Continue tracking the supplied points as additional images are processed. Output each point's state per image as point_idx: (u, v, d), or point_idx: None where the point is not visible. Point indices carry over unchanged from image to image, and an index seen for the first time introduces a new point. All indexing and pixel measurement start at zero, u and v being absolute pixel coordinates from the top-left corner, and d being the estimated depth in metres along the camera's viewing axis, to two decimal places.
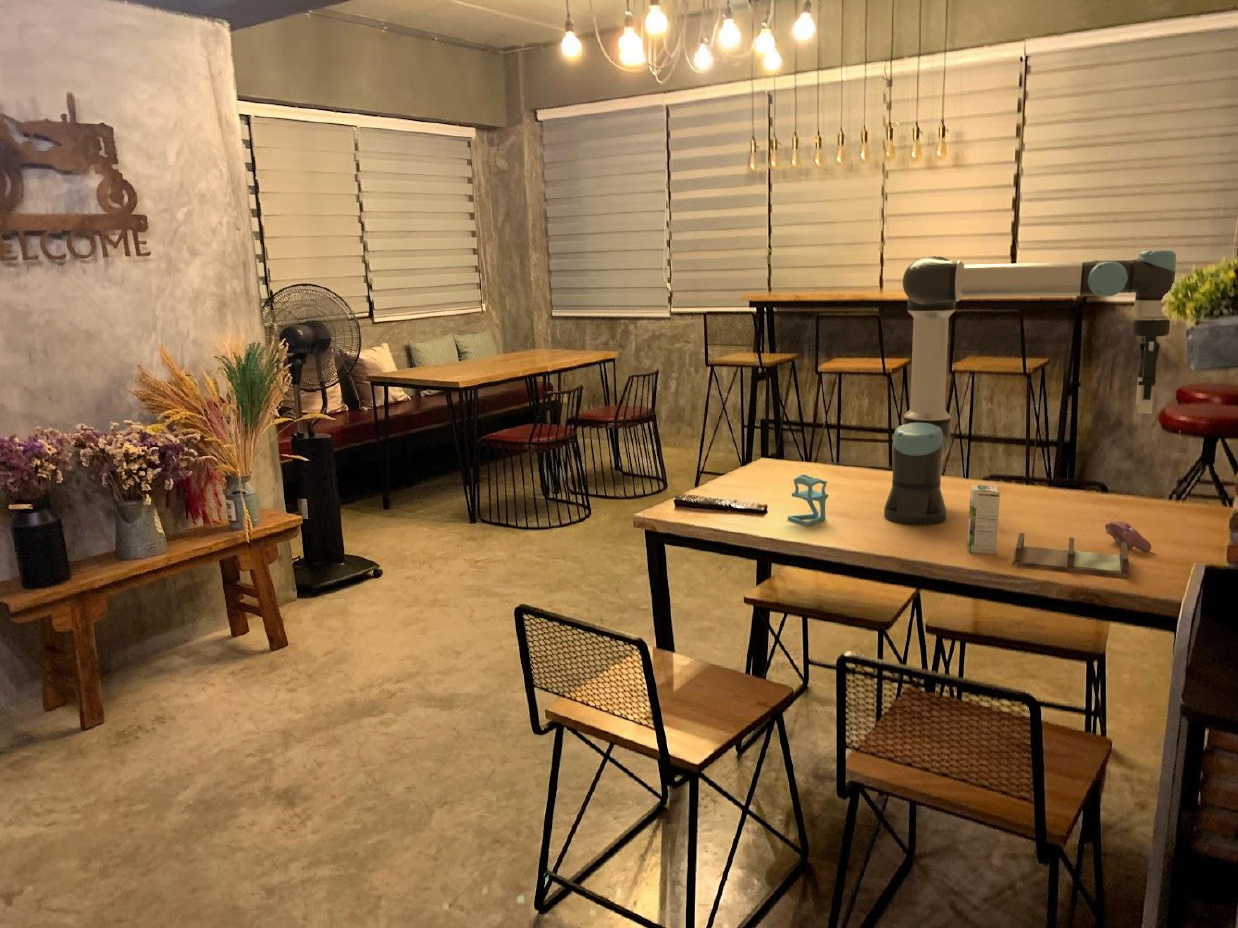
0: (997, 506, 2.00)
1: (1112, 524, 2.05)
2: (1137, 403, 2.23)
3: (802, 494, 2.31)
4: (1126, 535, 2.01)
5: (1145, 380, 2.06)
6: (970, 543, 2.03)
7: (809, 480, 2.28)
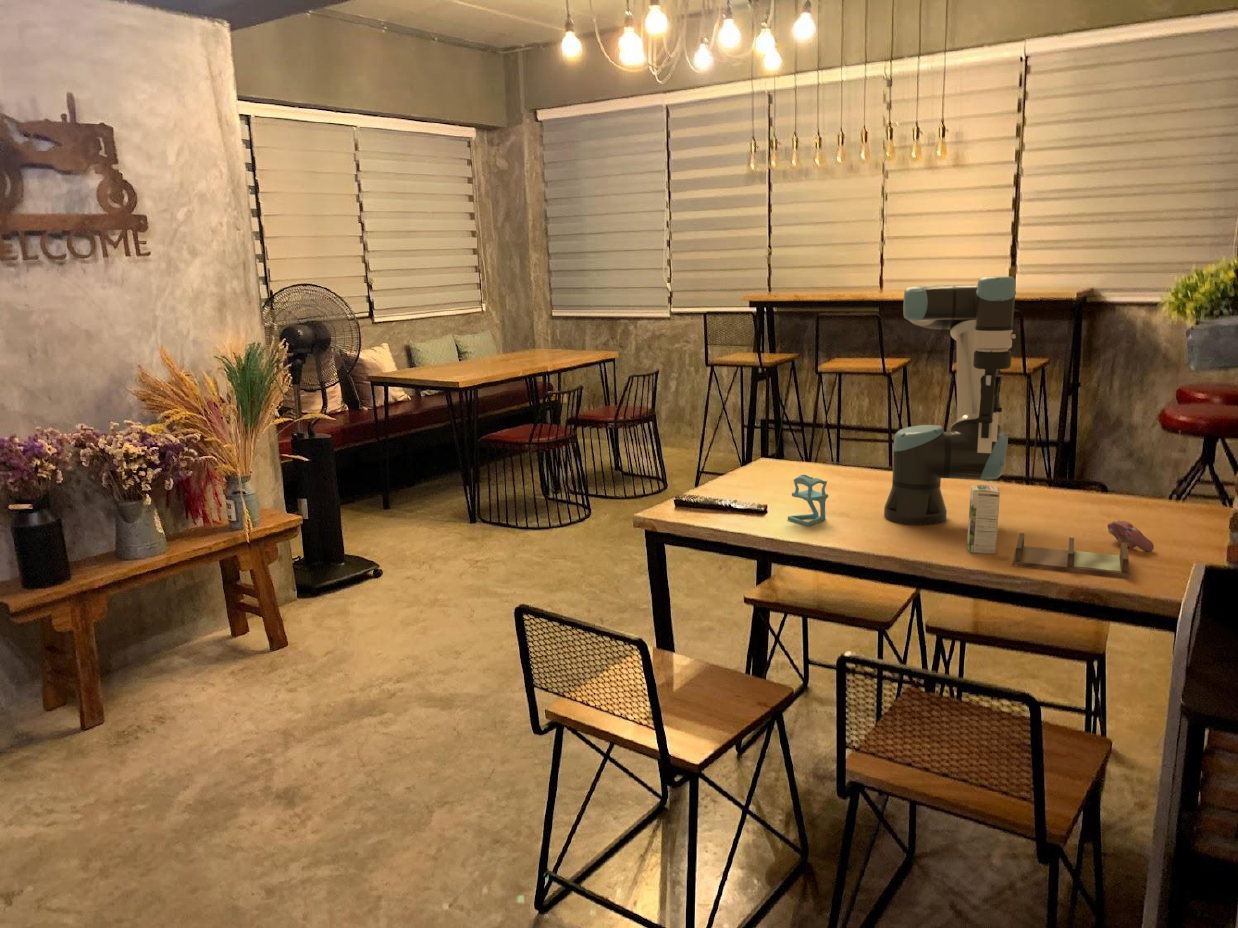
0: (997, 506, 2.00)
1: (1114, 524, 2.06)
2: None
3: (802, 494, 2.31)
4: (1129, 535, 2.01)
5: (981, 417, 1.90)
6: (970, 543, 2.03)
7: (809, 480, 2.28)
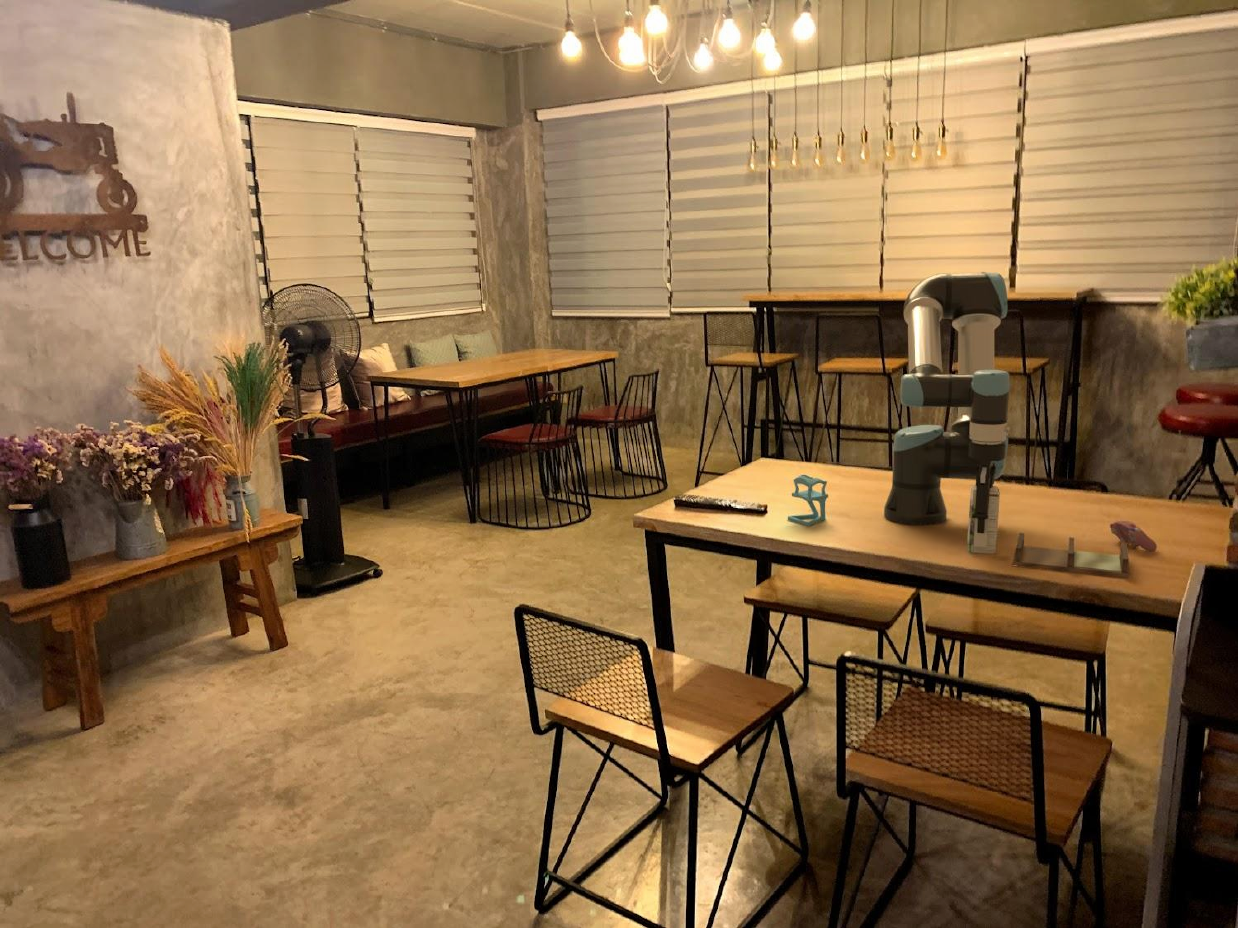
0: (997, 506, 2.00)
1: (1117, 524, 2.06)
2: None
3: (802, 494, 2.31)
4: (1131, 535, 2.01)
5: (977, 514, 1.98)
6: (970, 543, 2.03)
7: (809, 480, 2.28)
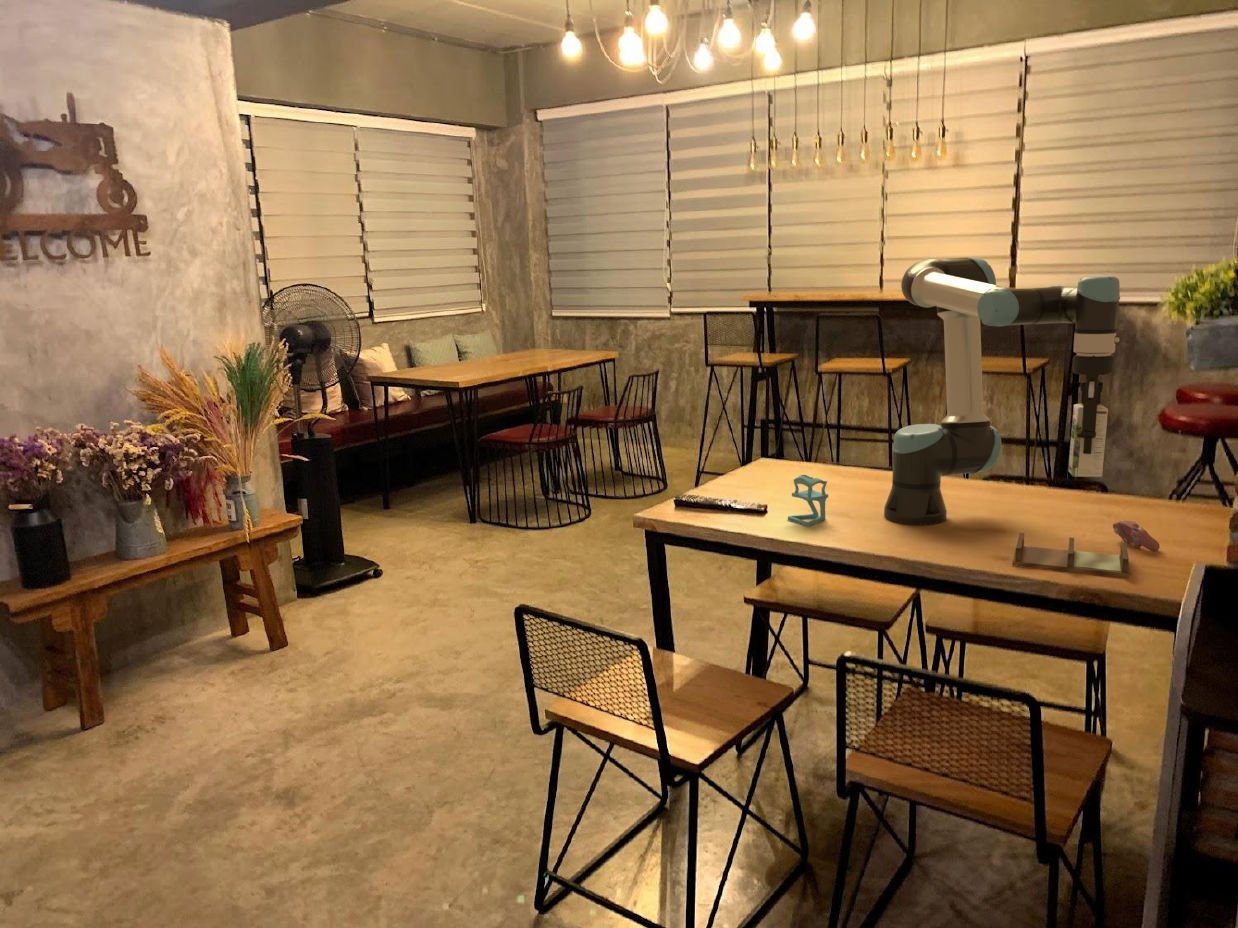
0: (1105, 424, 1.85)
1: (1120, 523, 2.06)
2: None
3: (802, 494, 2.31)
4: (1134, 534, 2.01)
5: (1084, 432, 1.83)
6: (1074, 466, 1.88)
7: (809, 480, 2.28)
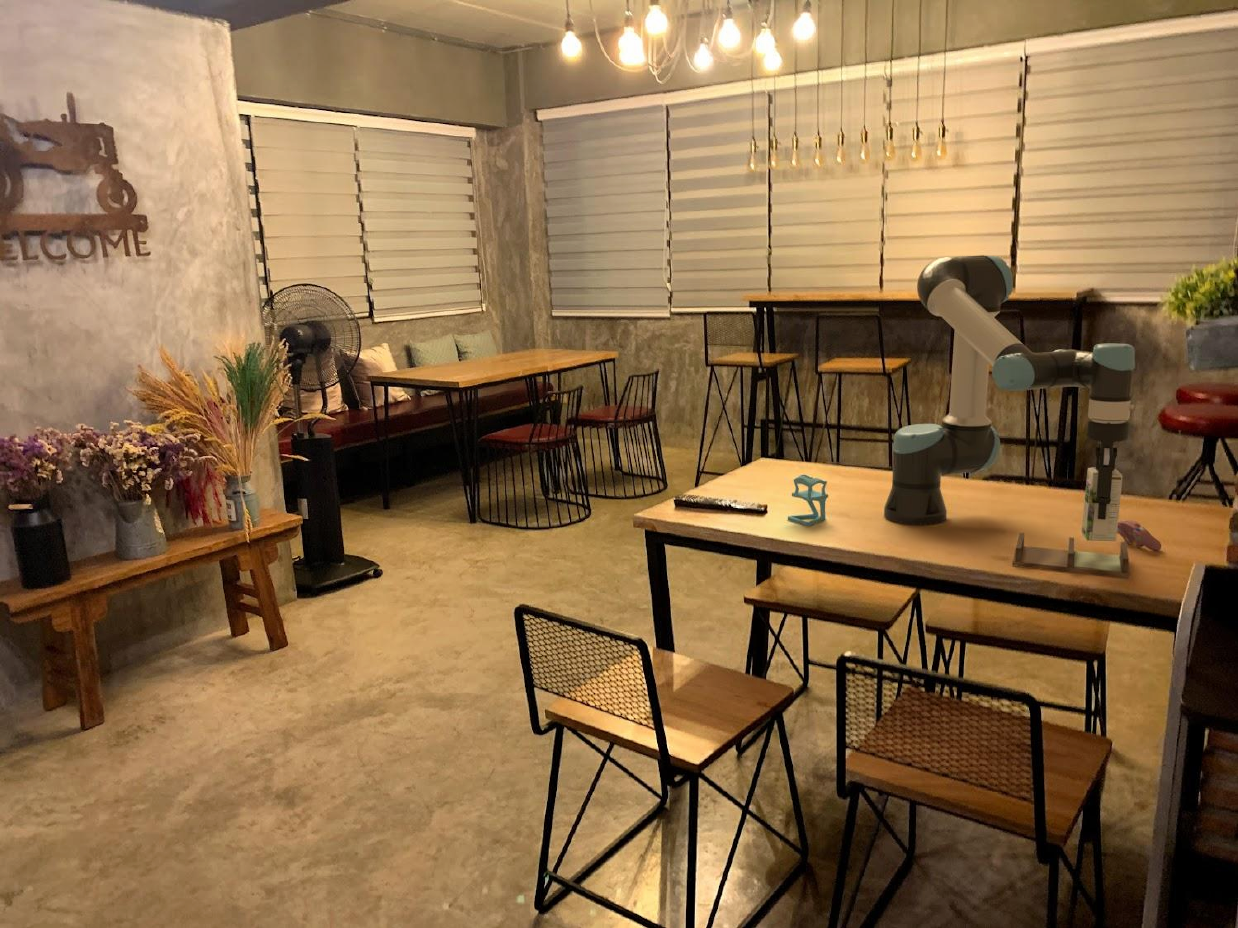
0: (1119, 490, 1.86)
1: (1122, 523, 2.06)
2: None
3: (802, 494, 2.31)
4: (1136, 534, 2.01)
5: (1099, 499, 1.84)
6: (1088, 530, 1.89)
7: (809, 480, 2.28)
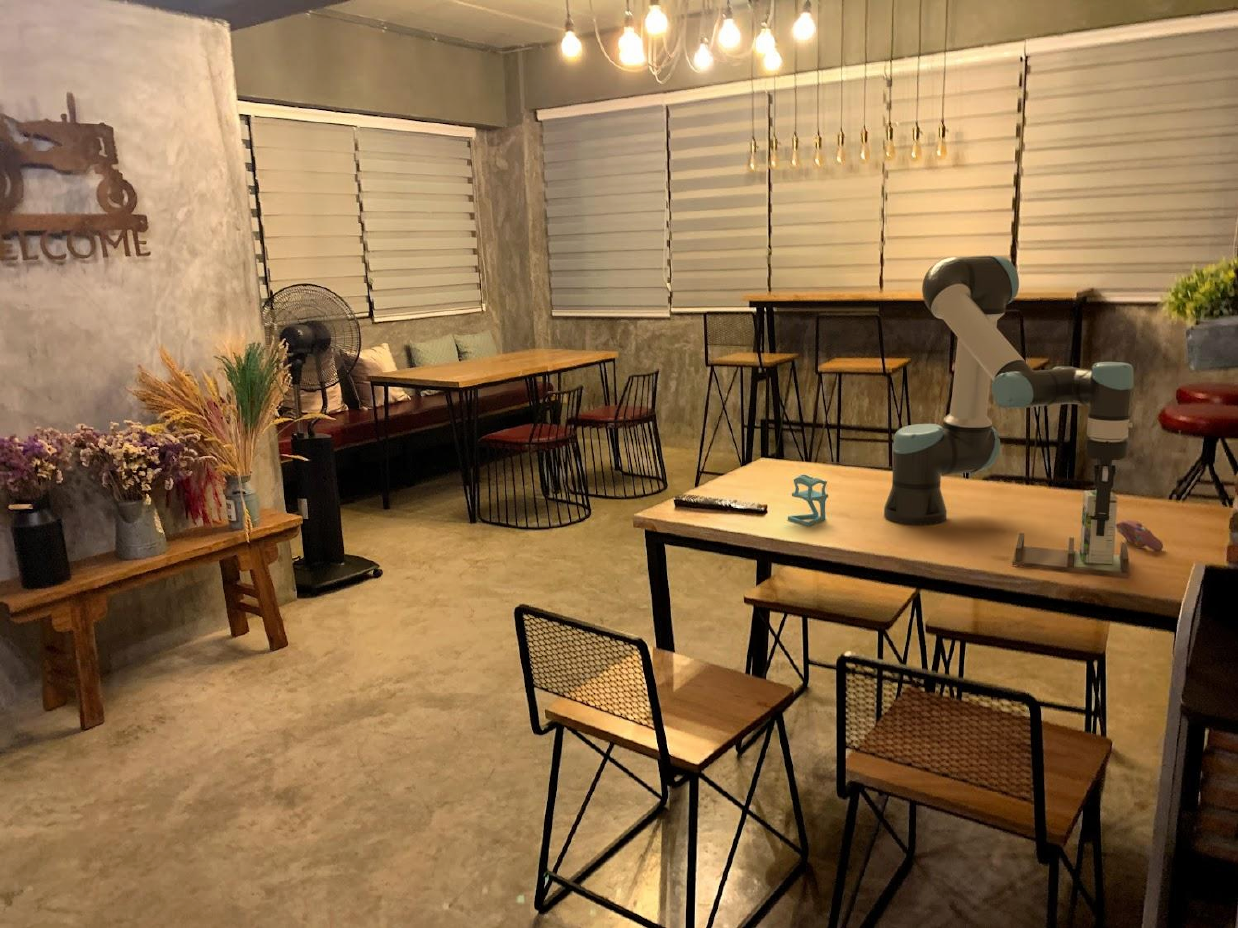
0: (1115, 513, 1.87)
1: (1123, 523, 2.06)
2: None
3: (802, 494, 2.31)
4: (1138, 534, 2.01)
5: (1098, 515, 1.83)
6: (1085, 553, 1.91)
7: (809, 480, 2.28)
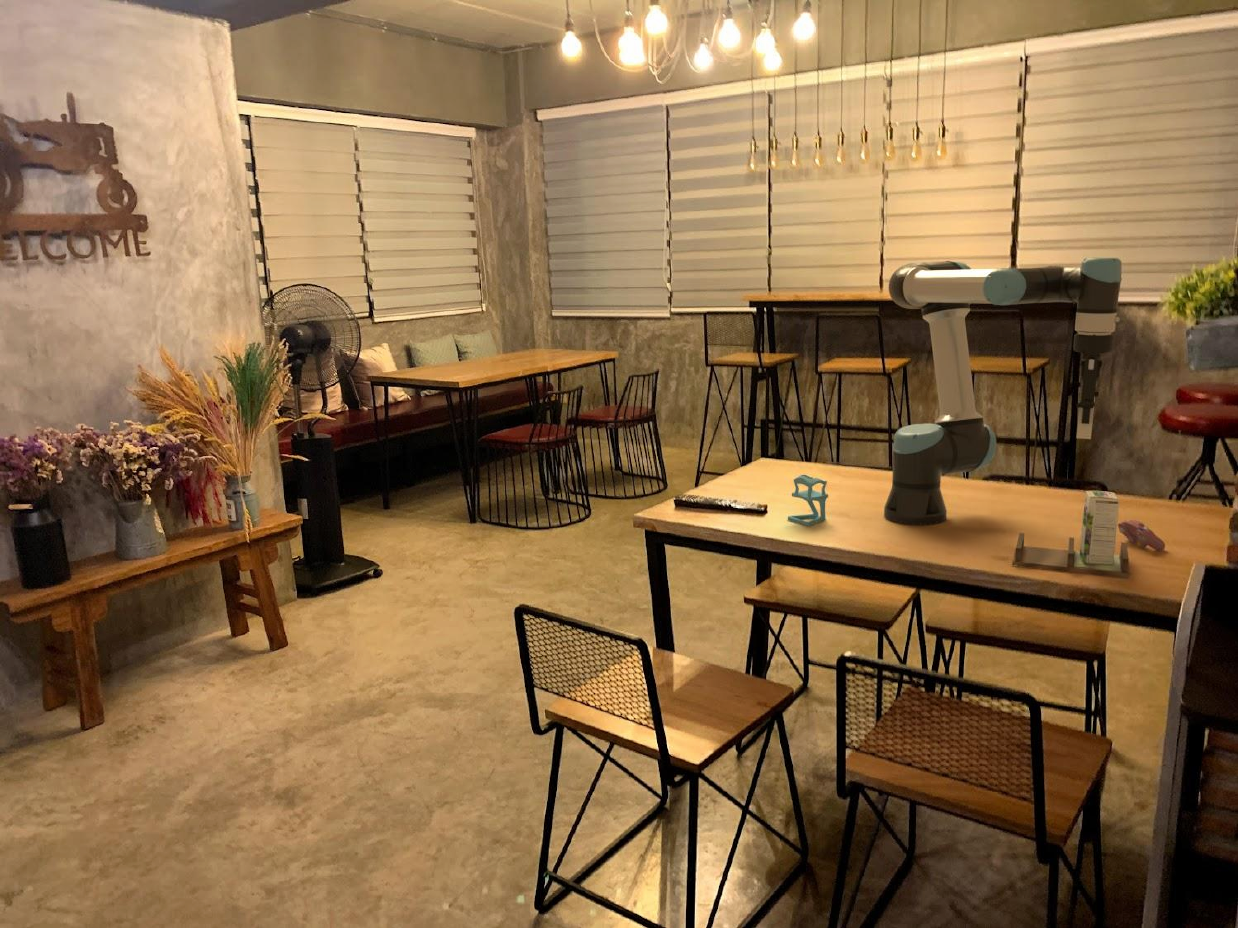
0: (1116, 514, 1.87)
1: (1125, 523, 2.06)
2: None
3: (802, 494, 2.31)
4: (1140, 534, 2.01)
5: (1083, 402, 1.86)
6: (1085, 553, 1.90)
7: (809, 480, 2.28)
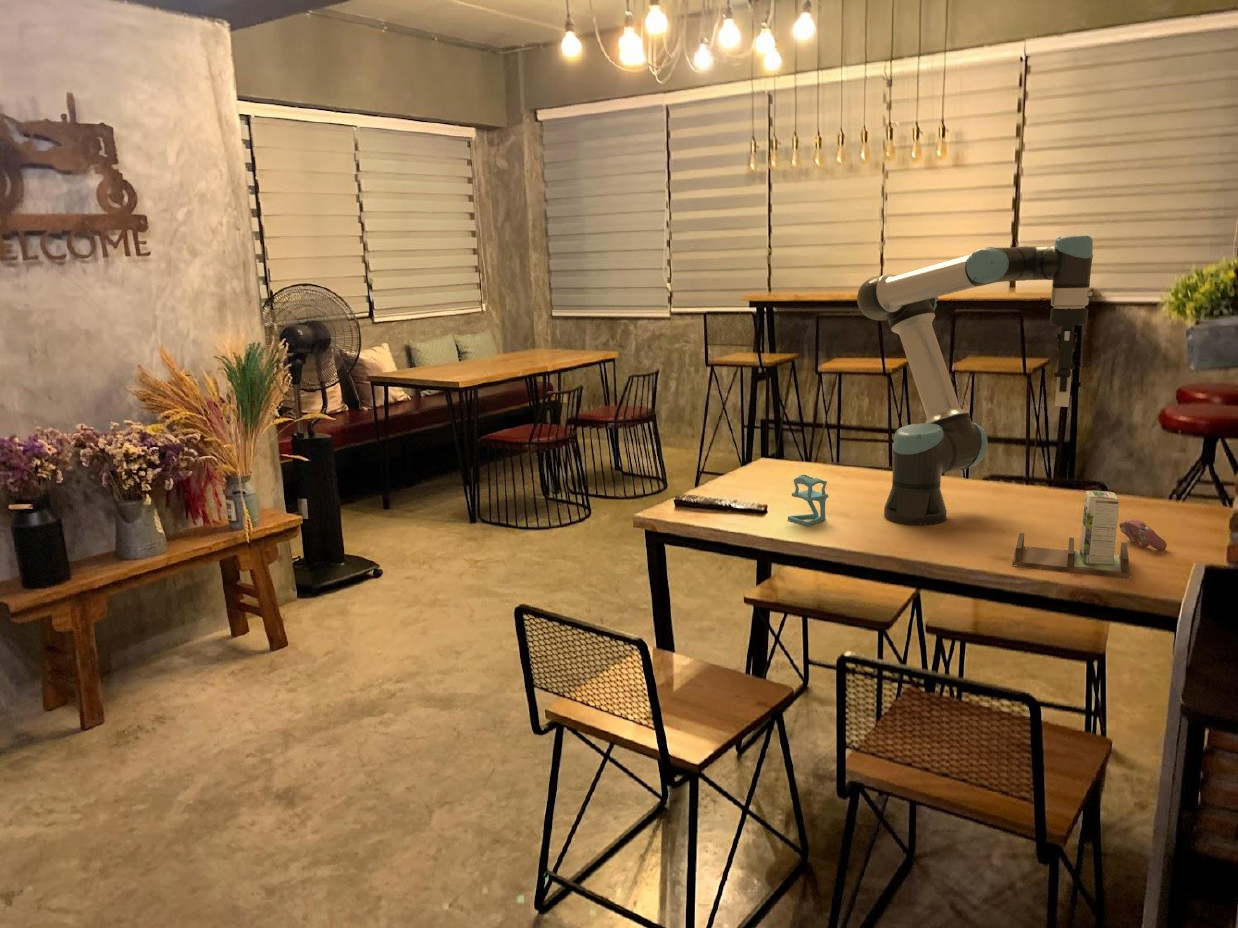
0: (1116, 514, 1.87)
1: (1127, 523, 2.06)
2: None
3: (802, 494, 2.31)
4: (1142, 534, 2.01)
5: (1060, 371, 1.97)
6: (1085, 553, 1.90)
7: (809, 480, 2.28)
